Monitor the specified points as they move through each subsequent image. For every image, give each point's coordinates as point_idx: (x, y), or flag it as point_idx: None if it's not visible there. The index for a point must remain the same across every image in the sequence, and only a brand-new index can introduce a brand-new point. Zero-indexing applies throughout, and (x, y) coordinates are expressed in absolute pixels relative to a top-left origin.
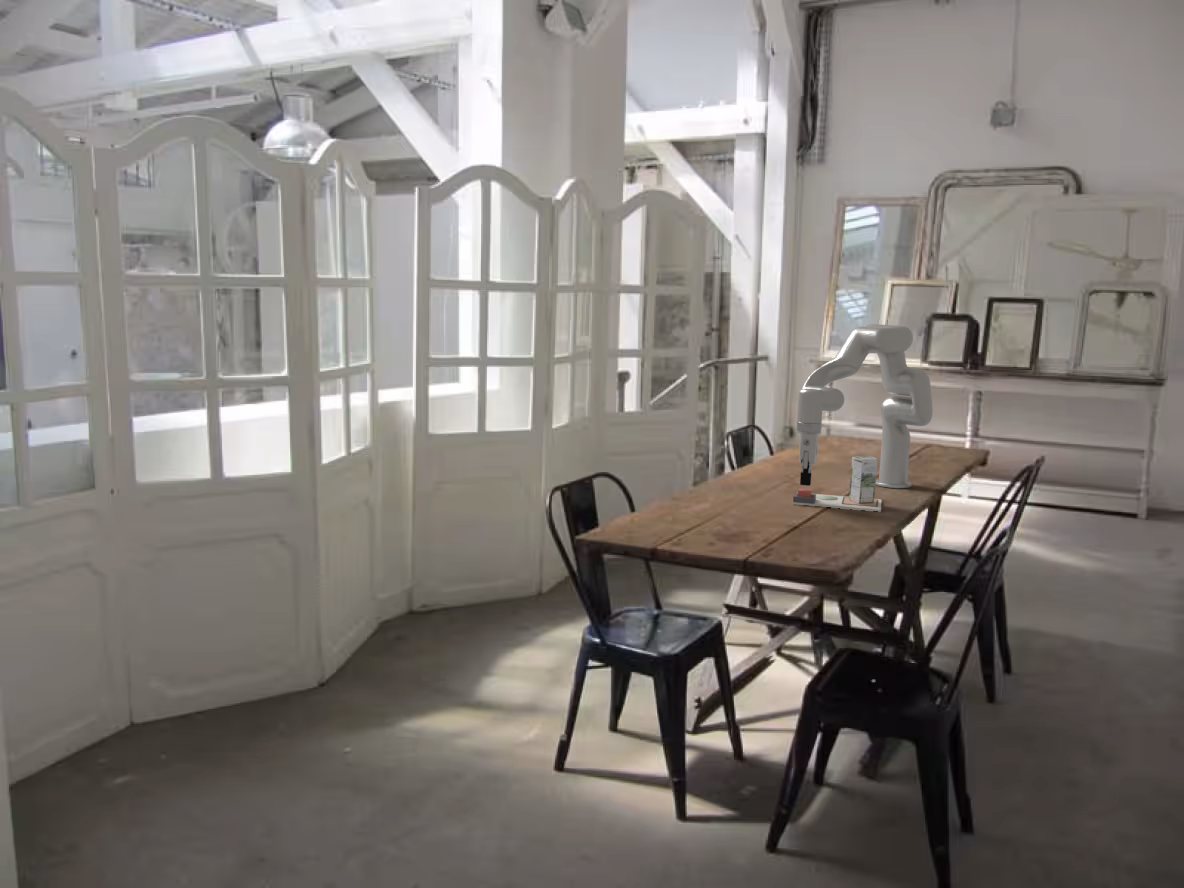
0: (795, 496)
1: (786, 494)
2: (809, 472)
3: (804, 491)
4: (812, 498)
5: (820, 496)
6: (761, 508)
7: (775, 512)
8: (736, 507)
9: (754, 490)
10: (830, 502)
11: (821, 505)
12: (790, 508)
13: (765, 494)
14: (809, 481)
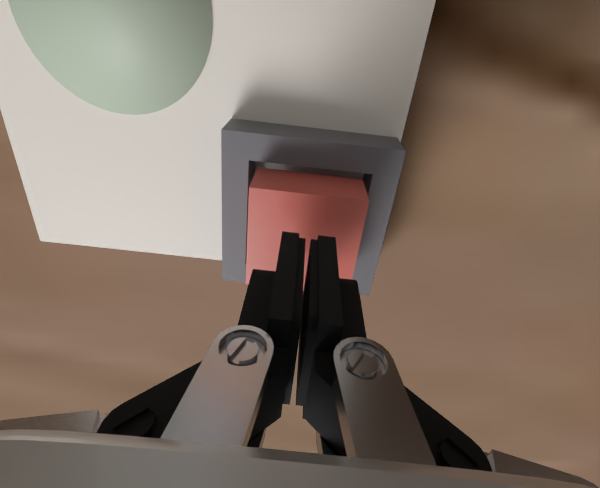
0: (364, 283)
1: (75, 286)
2: (387, 361)
3: (357, 250)
4: (400, 167)
5: (89, 72)
6: (484, 391)
7: (582, 344)
8: None
9: (75, 405)
10: None
11: (414, 75)
12: (475, 277)
13: (141, 371)
14: (336, 266)
